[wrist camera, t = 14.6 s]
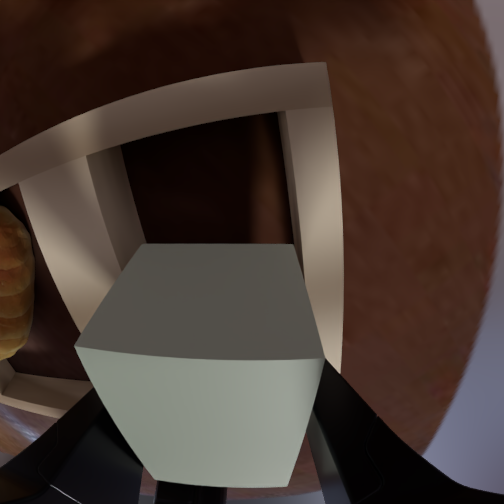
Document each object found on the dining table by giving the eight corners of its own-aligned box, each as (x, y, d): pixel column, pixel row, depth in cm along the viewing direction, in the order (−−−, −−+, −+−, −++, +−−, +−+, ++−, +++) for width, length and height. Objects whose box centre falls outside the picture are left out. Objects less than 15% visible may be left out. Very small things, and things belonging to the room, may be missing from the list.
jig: (327, 382, 15) (336, 419, 12) (-29, 370, 17) (-41, 387, 14) (307, 73, 8) (325, 62, 6) (-98, 235, 10) (-115, 248, 8)
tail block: (279, 390, 10) (287, 486, 7) (173, 387, 10) (154, 479, 7) (293, 244, 8) (325, 358, 4) (142, 243, 8) (74, 345, 4)
